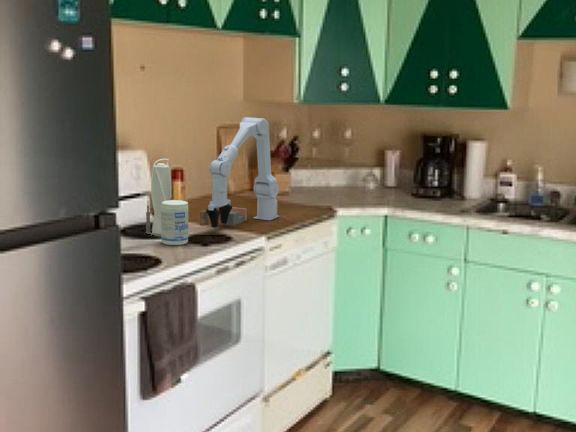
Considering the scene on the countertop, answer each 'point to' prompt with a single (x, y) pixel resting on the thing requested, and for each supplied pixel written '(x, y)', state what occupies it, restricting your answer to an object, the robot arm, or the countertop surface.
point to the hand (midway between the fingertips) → (219, 225)
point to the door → (241, 212)
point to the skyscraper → (158, 195)
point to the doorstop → (234, 218)
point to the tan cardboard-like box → (203, 217)
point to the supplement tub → (174, 222)
